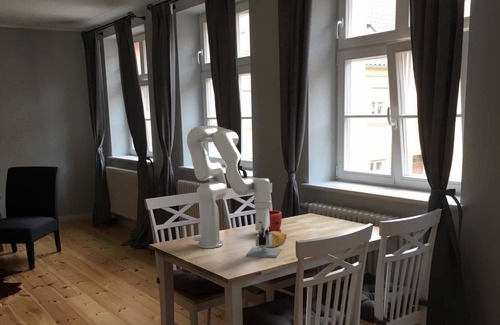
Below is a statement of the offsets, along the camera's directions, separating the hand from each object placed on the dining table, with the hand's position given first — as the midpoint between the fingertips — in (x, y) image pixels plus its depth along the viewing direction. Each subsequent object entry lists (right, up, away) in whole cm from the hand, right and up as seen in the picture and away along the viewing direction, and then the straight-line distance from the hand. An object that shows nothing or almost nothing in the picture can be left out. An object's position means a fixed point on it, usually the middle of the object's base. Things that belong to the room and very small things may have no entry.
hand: (264, 242), depth 212 cm
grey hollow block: (0, -1, 0) cm, 1 cm away
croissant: (+5, -4, +16) cm, 17 cm away
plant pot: (+4, -2, +36) cm, 36 cm away
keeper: (0, -5, +1) cm, 5 cm away
